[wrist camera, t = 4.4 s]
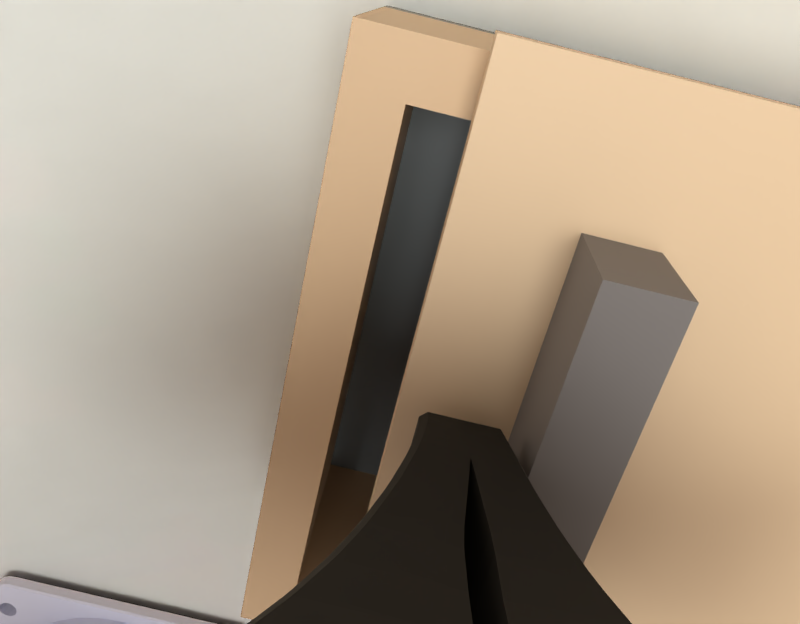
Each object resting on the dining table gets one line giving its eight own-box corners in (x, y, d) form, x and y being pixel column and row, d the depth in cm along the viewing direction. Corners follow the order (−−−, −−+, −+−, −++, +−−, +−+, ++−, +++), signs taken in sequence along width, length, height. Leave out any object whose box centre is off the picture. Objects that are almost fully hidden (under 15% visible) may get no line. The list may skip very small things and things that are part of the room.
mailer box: (856, 606, 20) (969, 787, 16) (291, 471, 20) (240, 616, 15) (1135, 194, 15) (1419, 285, 11) (387, 5, 15) (353, 16, 10)
